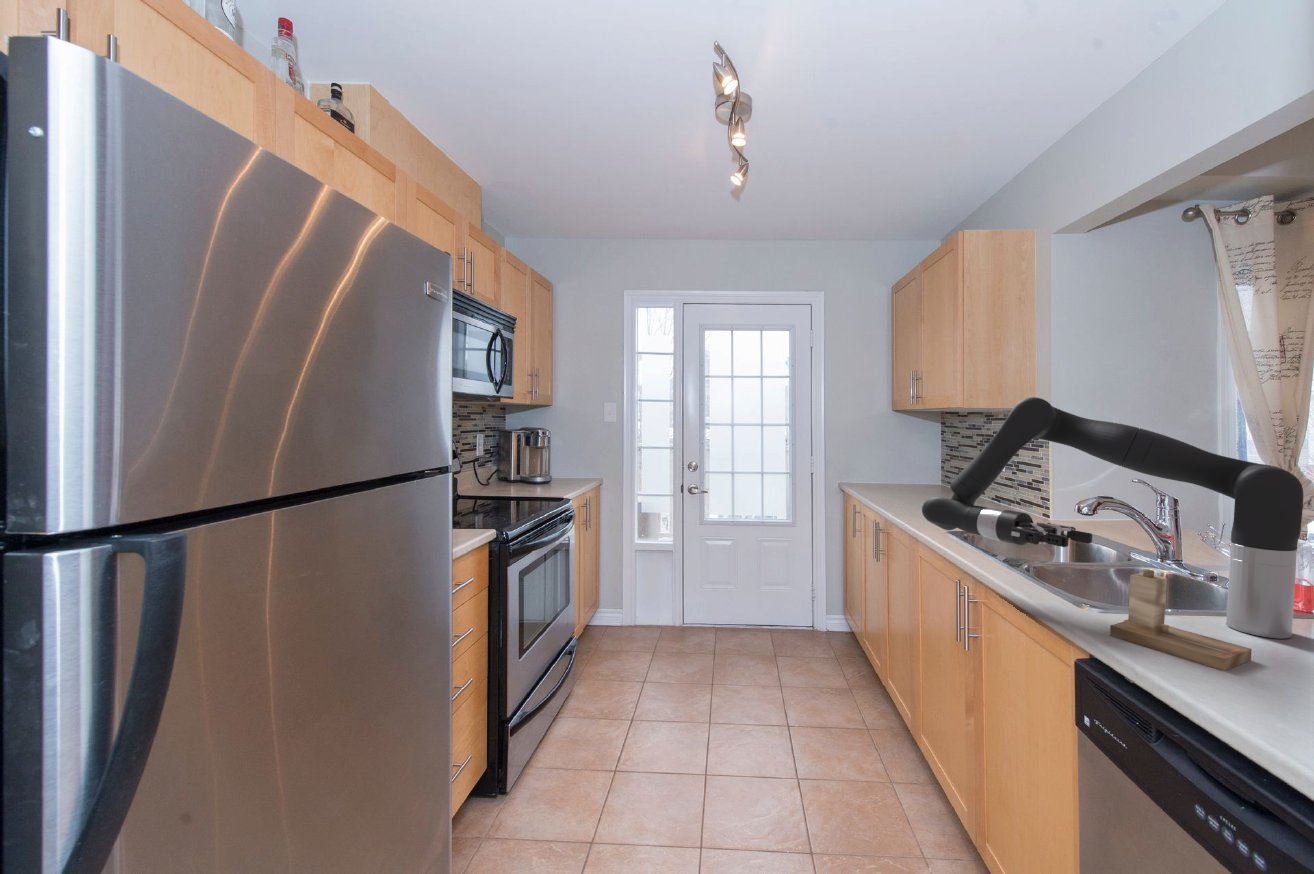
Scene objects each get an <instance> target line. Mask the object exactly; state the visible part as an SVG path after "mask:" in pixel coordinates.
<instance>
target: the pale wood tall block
mask: <svg viewBox="0 0 1314 874" xmlns="http://www.w3.org/2000/svg"><path fill="white" fill-rule="evenodd" d="M1167 579H1168V577H1163V576H1158V575H1156V574H1155V570H1153V569H1150V568H1149V569H1147V568H1144V569H1142V572H1139V573H1134V574H1133V573H1132V574H1130V579H1129V580H1130V581H1129V597H1128V598H1129V599H1128V618H1127V619H1124V620H1123V622H1124V627H1127V628H1130V629H1133V630H1137V631H1140V632H1144V633H1147V634H1150V635H1154V636H1155V635H1159V634H1162V633H1165V632H1168V631H1169V626H1170V625H1169V624H1166V623H1165V619H1166V618H1165V617H1166V615H1165V614H1166V598H1167V597H1166V595H1167Z"/></svg>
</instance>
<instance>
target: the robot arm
mask: <svg viewBox="0 0 1314 874" xmlns="http://www.w3.org/2000/svg"><path fill="white" fill-rule="evenodd" d="M1033 439H1037V440H1042V441H1046V442H1047V441H1048V442H1053V443H1056V444H1060V445H1064V446H1067V447H1071V448H1074V449H1077V450H1079V451H1081V452H1084V453H1086V454H1088V455H1090V456H1093V457H1095V458H1097V459H1100V460H1102V461H1106V462H1108V463H1111V464H1113V465H1115V466H1119V467H1122V468H1125V469H1128V470H1131V471H1134V472H1137V473H1141V474H1144V475H1147V476H1148V475H1149V476H1152V477H1156V478H1161V479H1164V480H1165V479H1166V480H1170V481H1176V482H1177V481H1178V482H1181V483H1182V482H1183V483H1187V484H1192V485H1196V486H1199V487H1202V488H1204V489H1207V490H1210V491H1213V492H1216V493H1218V494H1221V495H1223V496H1226V497H1229V498H1231V499H1234V509H1233V522H1232V527H1231V532H1230V533H1231V534H1230V551H1229V552H1230V553H1229V554H1230V555H1229V569H1228V571H1229V572H1228V589H1227V601H1226V602H1227V603H1226V620H1225V624H1226V626H1227V627H1229V628H1231V629H1233V630H1236V631H1239V632H1242V633H1246V634H1249V635H1254V636H1259V637H1264V638H1272V639H1290V638H1292V636H1293V635H1292V634H1293V621H1294V620H1293V619H1294V605H1295V589H1296V573H1297V556H1298V555H1297V553H1298V543H1299V542H1298V541H1299V539H1300V536H1301V531H1302V521H1303V520H1302V518H1303V509H1304V487H1303V485H1302V482H1301V481H1300V480H1299V478H1298V477H1297V476H1295V475H1294V474H1293V473H1291V472H1290V471H1288V470H1285V469H1283V468H1281V467H1278V466H1275V465H1270V464H1263V463H1257V462H1253V461H1252V462H1251V461H1249V460H1248V461H1247V460H1241V459H1237V458H1233V457H1229V456H1224V455H1220V454H1216V453H1213V452H1210V451H1207V450H1204V449H1202V448H1199V447H1197V446H1194V445H1193V444H1189V443H1187V442H1184V441H1181V440H1179V439H1177V438H1173V437H1170V436H1167V435H1165V434H1162V433H1158V432H1154V431H1151V430H1147V429H1144V428H1140V427H1137V426H1132V425H1129V424H1123V423H1118V422H1112V421H1103V420H1096V419H1090V418H1086V417H1082V416H1079V415H1077V414H1073V413H1070V412H1067V411H1065V410H1062V409H1060V408H1057V407H1054V406H1053V405H1052V404H1051V403H1049V401H1048V400H1046V399H1043V398H1042V397H1041V398H1040V397H1035V396H1033V397H1026V398H1023V399H1021V400H1019V401H1018V402H1016V404H1015V405H1014V406H1013V407H1012V409H1011V411H1010V413H1009V414H1008V415H1007V416H1006V419H1005V420H1004V421H1003V422H1002V425H1001V427H999V429H998V430H997V432H996V433H995V434H994V436H993V437H992V438H991V440H989V442H988V443H987V444H986V445H985V446H984V448H982V449H981V451H979V453H978V454H977V455H976V456H975V457H973V459H972V460H971V461H970V462H969V463H968V464H967V465H966V466H965V467H964V468H963V469H962V470H961V472H960V473H959V474H958V475H957V476H956V477H955V478H954V479H953V480H952V482H951V483H950V486H949V487H950V490H951V491H952V493H953V494H952V496H951V498H948V497H945V496H944V497H943V496H933V497H931V498H928V499H927V500H925V502H923V504H922V507H921V513H922V515H923V517H924V518H925V520H927V521H928V522H929V523H931V524H933V525H935V526H937V527H939V528H941V529H943V530H945V531H952V530H956V529H959V530H961V531H963V532H965V533H969V534H972V535H975V536H981V537H985V538H987V539H990V540H993V541H998V542H1003V543H1006V544H1007V543H1008V544H1011V545H1016V546H1024V545H1026V544H1028V543H1029V544H1033V545H1040V544H1041V545H1051V546H1057V547H1062V548H1068V547H1069V541H1073V542H1078V543H1083V544H1092V543H1093V534H1092V533H1091V532H1086V531H1080V530H1077V528H1076V527H1074V526H1067V525H1061V524H1057V523H1051V522H1046V523H1045V522H1039V521H1037V522H1036V523H1035V522H1034V520H1033V518H1032V517H1031V515H1030V514H1029V513H1026V512H1022V511H1018V510H1017V511H1015V510H1010V509H1003V508H998V507H986V506H981V505H975V503H976V501H977V500H978V499H979V498H980V497H981V496H982V495H983V493H985V492H986V491H987V490H988V489H989V487H990V486H991V485H992V484H993V483H994V482H995V481H996V479H997V478H998V477H999V475H1000V474H1001V473H1002V472H1003V470H1004V469H1005V467H1006V466H1007V465H1008V463H1010V461H1011V460H1012V458H1013V457H1014V456H1015V455H1016V454H1017V453H1018V452H1019V451H1021V449H1022V448H1024V447H1025V446H1026V445H1027V444H1028V443H1030V442H1031V441H1032V440H1033ZM1065 532H1066V533H1065Z"/></svg>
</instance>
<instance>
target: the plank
mask: <svg viewBox="0 0 1314 874" xmlns="http://www.w3.org/2000/svg"><path fill="white" fill-rule="evenodd" d="M1109 631H1110V632H1109V636H1110V637H1114V638H1117V639H1120V640H1123V641H1127V642H1131V643H1133V644H1137V645H1139V646H1143V647H1146V648H1149V649H1153V650H1155V651H1159V652H1162V653H1165V654H1168V655H1173V656H1175V657H1179V658H1182V659H1185V660H1188V661H1191V662H1195V663H1197V664H1202V665H1205V666H1208V667H1211V668H1214V669H1217V670H1220V671H1227V670H1230V669H1232V668H1234V667H1237V666H1239V665H1242V664H1245V663H1247V662H1249V661H1252V648H1250V647H1246V646H1242V645H1240V644H1236V643H1235V644H1234V643H1232V642H1228V641H1224V640H1220V639H1218V638H1213V637H1209V636H1206V635H1203V634H1199V633H1195V632H1192V631H1188V630H1184V629H1180V628H1177V627H1173V626H1170V625H1169V631H1168V632H1165V633H1162V634H1159V635H1155V636H1154V635H1150V634H1147V633H1144V632H1140V631H1137V630H1133V629H1130V628H1127V627H1124V621H1121V622H1118V623H1114V624H1111V625H1110V628H1109Z"/></svg>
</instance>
